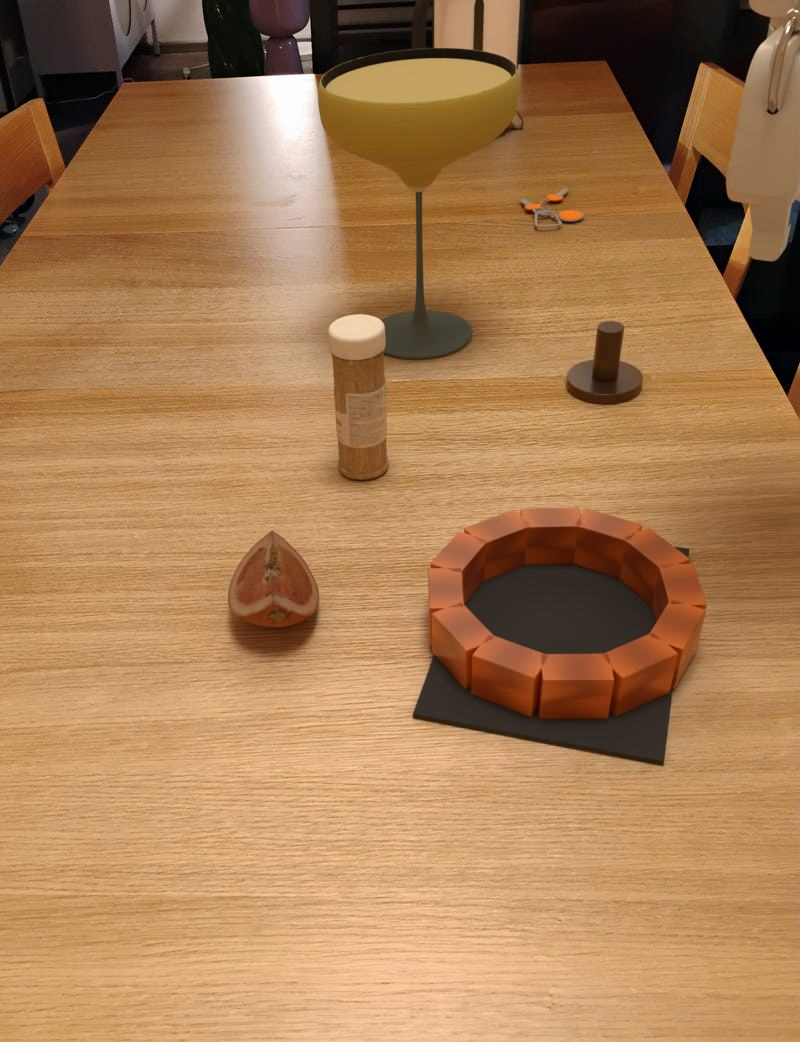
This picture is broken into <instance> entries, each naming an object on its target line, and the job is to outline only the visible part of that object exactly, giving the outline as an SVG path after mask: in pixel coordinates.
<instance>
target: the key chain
mask: <svg viewBox="0 0 800 1042" xmlns="http://www.w3.org/2000/svg"><path fill="white" fill-rule="evenodd" d="M568 192H570V188H567V187H563V188H562V189H561V190H559V191H558V192H557V193H554V194H548V195H547V196H546V199H544V200H542V201H540V203H534V202H533V203H532V202H530V200H528V199H527V198H520V199H519V200H518V202H519V203H520V204H521V205H524V209H525V210H526V211H532V212H533V214H534V221H533V222H534V226H535V228H540V229H541V228H542V229H548V228H549V229H551V228H556V227H557V228H558V227H562V226H563V222H568V223H572V222H578V221H581V220H583V219H584V217H585V214H584V213H583V212H582V211H579V210H572V209H571V210H563V211H560V212H559V211H556V210H551V206H548V205H543V204H545V203H549V202H559V201H562V200H563V199H564V195H567V193H568ZM542 205H543V206H542ZM540 216H541V217H548V216H550V217H551V219H556V220H557V222H558V223H554V224H539V222H538V221H539V220H538V218H539V217H540Z"/></svg>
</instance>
